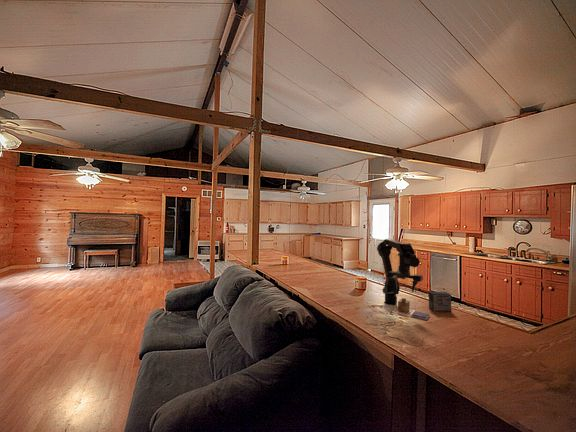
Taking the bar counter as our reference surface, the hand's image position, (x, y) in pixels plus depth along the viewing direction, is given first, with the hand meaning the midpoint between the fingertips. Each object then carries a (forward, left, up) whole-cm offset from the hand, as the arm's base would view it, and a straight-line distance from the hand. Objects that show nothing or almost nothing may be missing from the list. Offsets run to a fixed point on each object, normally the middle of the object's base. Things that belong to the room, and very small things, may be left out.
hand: (404, 290), depth 153 cm
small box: (+15, +18, -13) cm, 27 cm away
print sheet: (0, 0, -13) cm, 13 cm away
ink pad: (+9, -2, -13) cm, 16 cm away
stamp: (0, 0, -12) cm, 12 cm away
